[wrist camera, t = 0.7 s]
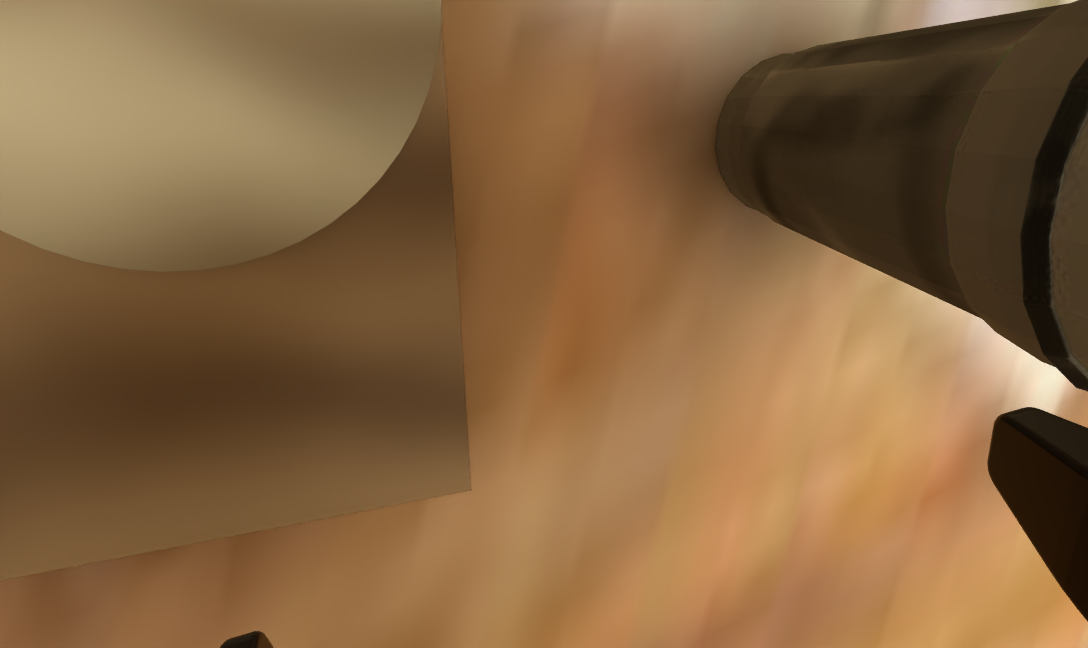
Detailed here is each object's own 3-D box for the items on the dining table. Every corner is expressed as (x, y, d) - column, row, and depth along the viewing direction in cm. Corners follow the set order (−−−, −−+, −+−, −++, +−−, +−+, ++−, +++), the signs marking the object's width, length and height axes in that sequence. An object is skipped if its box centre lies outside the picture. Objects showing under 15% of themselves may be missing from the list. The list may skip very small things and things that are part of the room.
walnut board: (464, 477, 24) (473, 494, 23) (-220, 605, 19) (-243, 632, 18) (409, -371, 17) (418, -394, 16) (-637, -503, 13) (-705, -547, 12)
